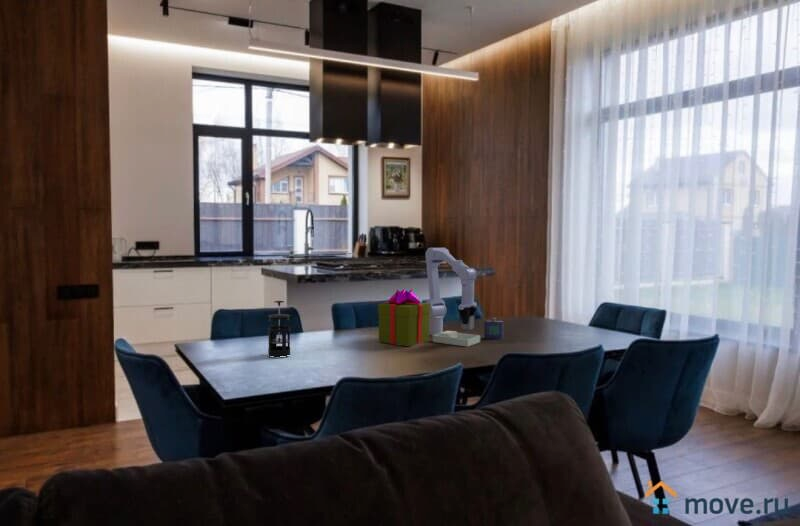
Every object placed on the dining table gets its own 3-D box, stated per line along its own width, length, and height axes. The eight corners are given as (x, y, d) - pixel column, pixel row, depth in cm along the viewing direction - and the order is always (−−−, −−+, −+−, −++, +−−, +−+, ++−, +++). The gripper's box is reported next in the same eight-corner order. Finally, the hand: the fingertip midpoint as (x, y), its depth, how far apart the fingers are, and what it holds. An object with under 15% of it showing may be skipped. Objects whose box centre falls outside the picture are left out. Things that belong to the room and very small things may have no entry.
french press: (295, 356, 238) (295, 301, 237) (274, 359, 233) (274, 303, 231) (282, 351, 248) (282, 298, 246) (262, 354, 242) (261, 300, 241)
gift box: (393, 336, 285) (393, 286, 283) (432, 340, 276) (433, 288, 274) (374, 344, 266) (374, 290, 265) (415, 348, 257) (415, 292, 256)
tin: (461, 328, 268) (461, 315, 268) (465, 327, 272) (465, 314, 272) (470, 329, 266) (470, 316, 265) (474, 328, 269) (474, 315, 269)
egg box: (439, 341, 271) (439, 332, 270) (447, 338, 277) (447, 330, 277) (448, 342, 268) (448, 334, 268) (456, 339, 274) (457, 331, 274)
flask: (502, 338, 281) (503, 317, 281) (503, 340, 278) (504, 318, 278) (483, 338, 282) (484, 317, 281) (484, 339, 279) (484, 317, 278)
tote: (432, 342, 270) (432, 335, 269) (446, 338, 281) (446, 331, 280) (467, 347, 259) (467, 339, 259) (480, 343, 270) (480, 335, 270)
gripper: (468, 296, 260) (468, 326, 260) (482, 293, 272) (482, 322, 273) (454, 295, 264) (454, 324, 264) (469, 292, 276) (468, 320, 276)
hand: (467, 323), depth 269 cm, fingers closed on tin, 4 cm apart
